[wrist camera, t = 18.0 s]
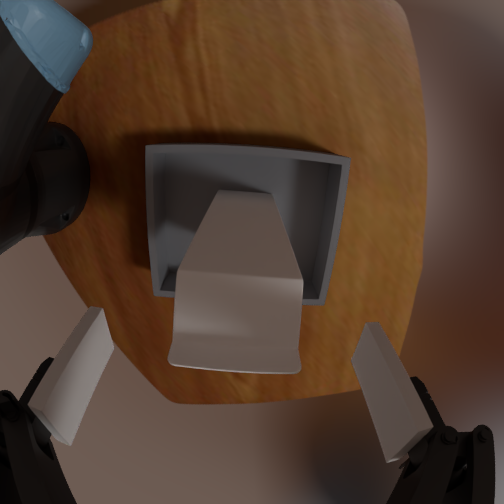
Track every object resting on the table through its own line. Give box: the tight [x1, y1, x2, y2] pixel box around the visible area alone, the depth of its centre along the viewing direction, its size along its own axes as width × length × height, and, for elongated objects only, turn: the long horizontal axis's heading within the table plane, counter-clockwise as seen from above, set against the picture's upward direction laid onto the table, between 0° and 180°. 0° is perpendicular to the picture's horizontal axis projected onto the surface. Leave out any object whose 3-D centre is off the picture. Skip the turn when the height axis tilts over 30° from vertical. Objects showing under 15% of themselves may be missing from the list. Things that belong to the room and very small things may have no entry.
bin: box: [145, 143, 351, 305], centre depth 30 cm, size 20×17×5 cm
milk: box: [168, 190, 303, 374], centre depth 21 cm, size 6×6×22 cm
